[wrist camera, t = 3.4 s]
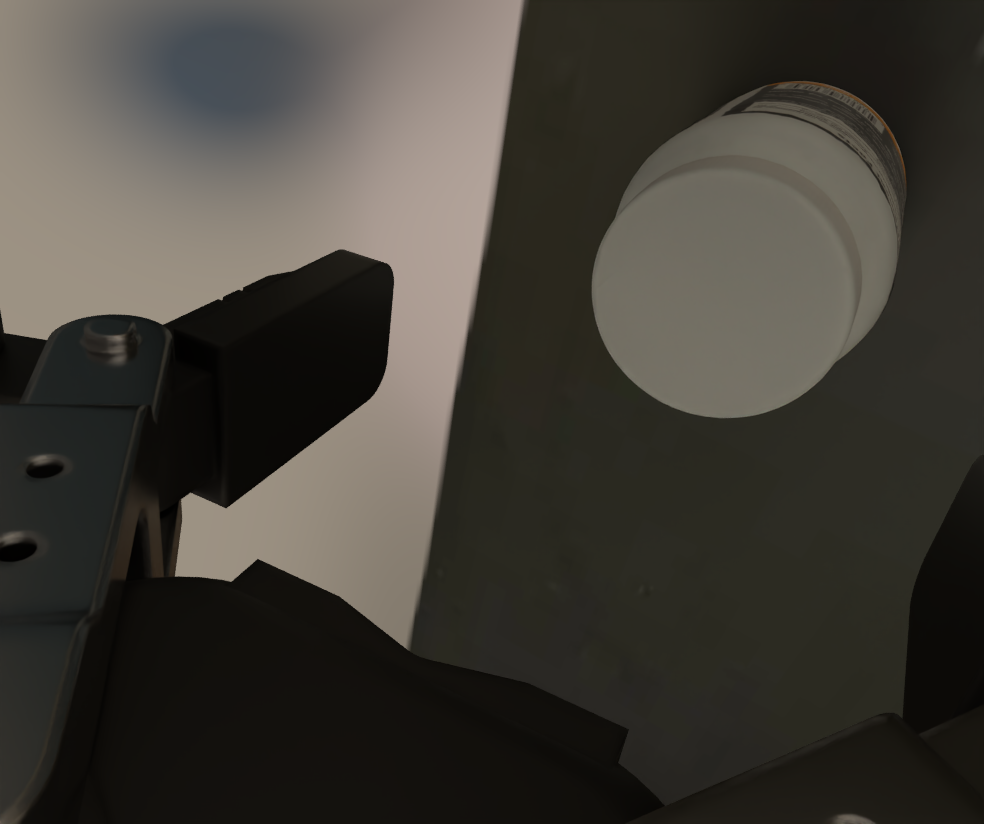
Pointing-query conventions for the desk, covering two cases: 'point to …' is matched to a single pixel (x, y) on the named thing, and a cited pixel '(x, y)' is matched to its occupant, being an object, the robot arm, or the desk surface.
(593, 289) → the pill bottle
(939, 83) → the desk surface
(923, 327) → the desk surface
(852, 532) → the desk surface
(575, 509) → the desk surface
